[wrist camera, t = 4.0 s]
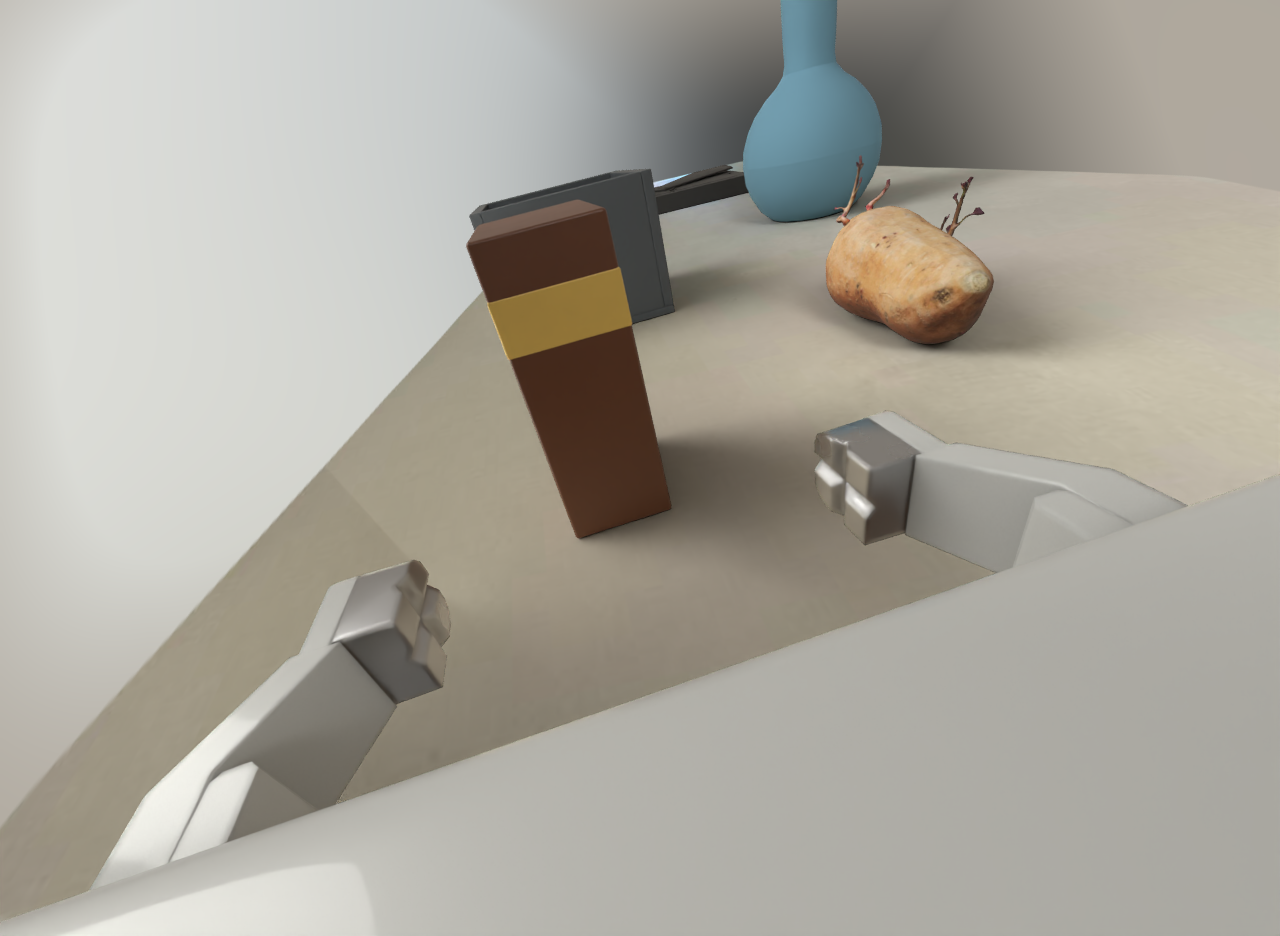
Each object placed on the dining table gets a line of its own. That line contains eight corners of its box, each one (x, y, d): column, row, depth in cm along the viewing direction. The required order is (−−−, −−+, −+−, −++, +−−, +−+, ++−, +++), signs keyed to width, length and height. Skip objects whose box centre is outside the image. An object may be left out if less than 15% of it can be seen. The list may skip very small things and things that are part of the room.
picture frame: (726, 185, 115) (611, 213, 116) (724, 164, 113) (607, 193, 114) (753, 191, 96) (614, 225, 97) (751, 166, 93) (609, 201, 95)
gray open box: (520, 355, 40) (468, 215, 34) (517, 316, 51) (478, 205, 45) (675, 311, 41) (651, 168, 35) (638, 282, 52) (616, 170, 47)
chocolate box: (576, 540, 19) (463, 243, 13) (562, 464, 24) (475, 225, 18) (673, 509, 19) (607, 206, 13) (639, 440, 24) (580, 198, 18)
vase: (781, 234, 57) (770, -63, 44) (729, 223, 71) (708, -6, 57) (908, 200, 58) (936, -101, 45) (833, 195, 72) (836, -36, 59)
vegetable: (1183, 261, 21) (1124, 33, 17) (942, 410, 25) (849, 249, 21) (970, 231, 35) (910, 100, 31) (834, 330, 38) (766, 224, 35)
